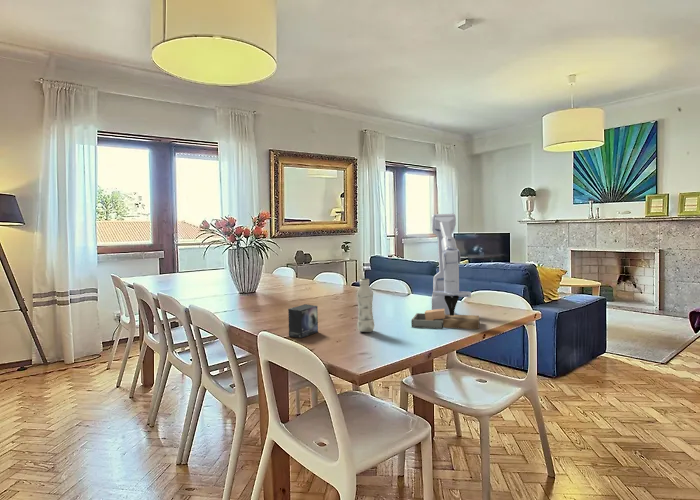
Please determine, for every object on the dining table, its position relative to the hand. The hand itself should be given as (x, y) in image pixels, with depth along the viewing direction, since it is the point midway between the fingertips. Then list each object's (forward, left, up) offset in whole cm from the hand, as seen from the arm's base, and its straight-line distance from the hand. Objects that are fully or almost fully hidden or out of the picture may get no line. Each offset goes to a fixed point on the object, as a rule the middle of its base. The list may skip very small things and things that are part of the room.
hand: (452, 315), depth 171 cm
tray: (-9, 0, -4) cm, 10 cm away
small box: (-53, -25, -4) cm, 58 cm away
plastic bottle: (-31, -17, -4) cm, 35 cm away
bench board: (+4, 0, -4) cm, 5 cm away
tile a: (-5, 0, -1) cm, 5 cm away
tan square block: (-7, 0, -1) cm, 7 cm away
